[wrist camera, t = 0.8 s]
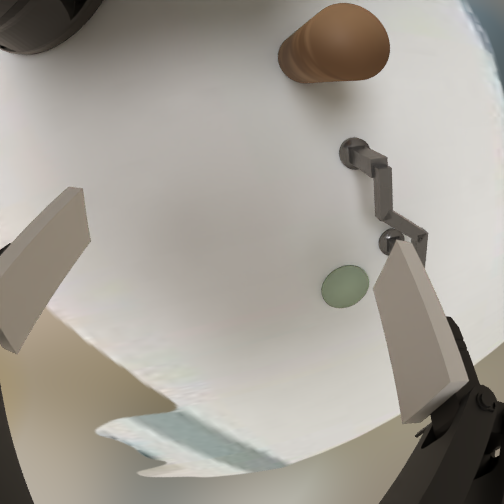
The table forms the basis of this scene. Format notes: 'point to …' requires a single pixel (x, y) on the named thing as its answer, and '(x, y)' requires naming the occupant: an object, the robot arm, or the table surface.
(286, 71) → the dowel
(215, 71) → the table surface
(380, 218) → the grey bent handle
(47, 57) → the table surface
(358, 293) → the pad
